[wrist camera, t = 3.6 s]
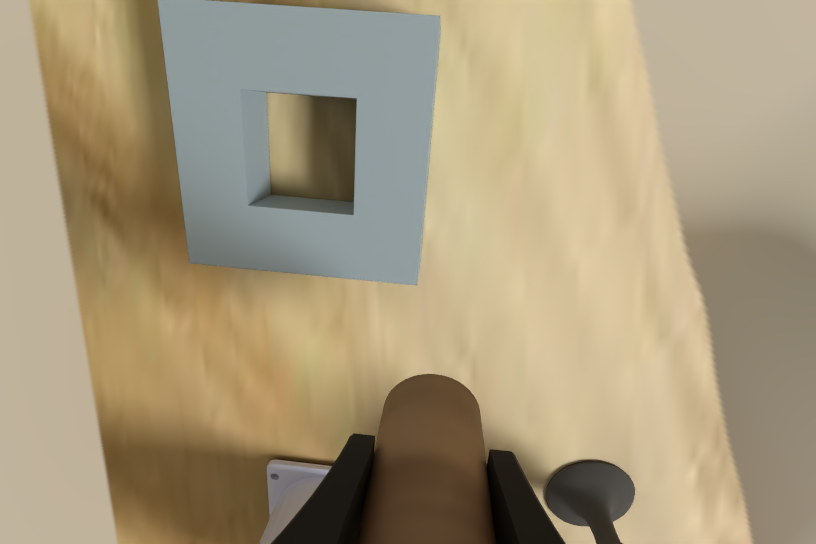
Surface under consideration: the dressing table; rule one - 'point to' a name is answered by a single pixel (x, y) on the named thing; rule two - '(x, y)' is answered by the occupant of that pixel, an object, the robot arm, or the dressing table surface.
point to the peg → (428, 468)
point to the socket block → (249, 142)
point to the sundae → (591, 497)
